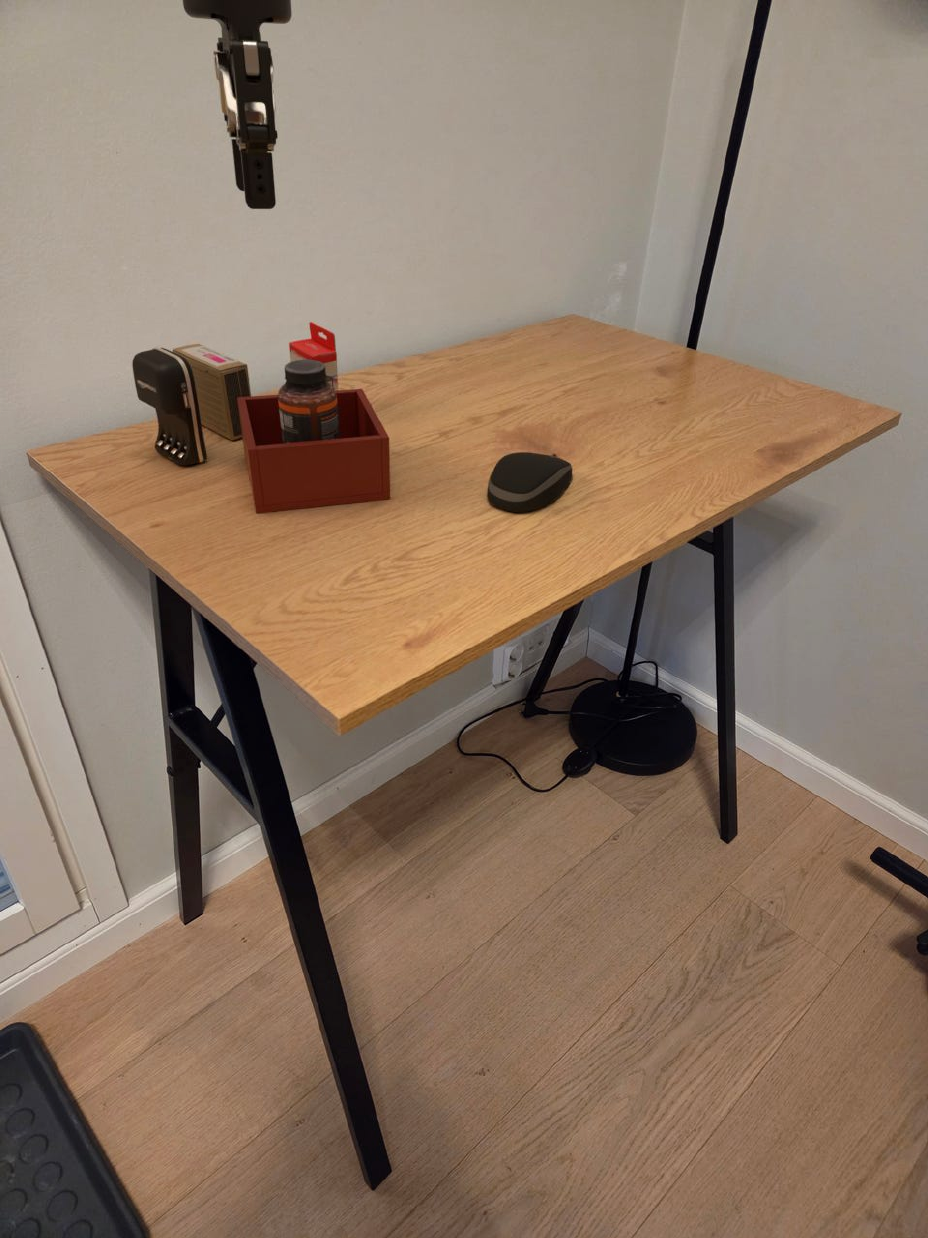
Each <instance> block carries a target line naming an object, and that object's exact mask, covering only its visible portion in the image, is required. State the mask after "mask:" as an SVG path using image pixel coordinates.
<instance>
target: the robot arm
mask: <svg viewBox="0 0 928 1238" xmlns="http://www.w3.org/2000/svg"><path fill="white" fill-rule="evenodd" d="M182 6H183V10H184V12H185V13H186V14H187V16H189V17H191V18H195V19H204V20H214V21H216V22H217V23H218V24H219V26H220V28H221V37H217V42H216V49H217V50H215V51H214V50H213V64H214V72H215V77H216V80H217V81H218V89H219V101H220V107H221V112H222V113H223V118H224V119H223V120H224V122H226V133H228V134H229V135H228V137H229V138H231V140H230V141H231V149H232V159H233V169H234V178H235V179H234V180H235V185H236V188H237V189H238V191H241V192H244V201H245V203H246V206H247V207H248V208H249V209H251V210H272V209H274V208H275V207H276V203H277V201H276V199H277V198H276V189H275V188H276V187H275V175H274V162H273V153H272V152H275V146H276V145H277V139H278V131H277V130H276V100H275V93H274V87H273V84H274V73H275V68H274V61H273V55H272V50H271V47H269V46H270V45H269V41H266V40H262V35H261V30H260V28H261V26H262V25H263V24H275V25H285V24H288V23H290V21H291V19H292V16H293V15H292V0H182Z"/></svg>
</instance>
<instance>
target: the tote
mask: <svg viewBox="0 0 928 1238" xmlns="http://www.w3.org/2000/svg"><path fill="white" fill-rule="evenodd" d="M336 394H337V404H338V417H339V432H340V439H331V440H320V441H308V442H296V443H285V444H283V438H282V429H281V420H280V411H279V402H278V394H268V395H255V396H254V395H253V396H252V395H251V397H237V402H238V409H239V416H240V424H241V431H242V437H241V438H242V446H243V453H244V459H245V463H246V469H247V474H248V479H249V483H250V489H251V494H252V499H253V503H254V509H255V513H256V514H263V513H270V512H271V513H272V512H281V511H291V510H298V509H299V510H300V509H307V508H308V509H309V508H318V507H326V506H327V507H328V506H337V505H344V504H345V505H346V504H354V503H355V504H356V503H364V502H372V501H373V502H374V501H383V500H390V499H391V467H390V465H391V464H390V463H391V461H390V458H391V457H390V436H389V434H388V433H387V431H386V430H385V428H384V426H383V424H382V422H381V420H380V418H379V417H378V415H377V413H376V411H375V409H374V408H373V406H372V404H371V402H370V400H369V399H368V397H367V395H366V393H365V391H364V389H363V388H352V389H338V390H337V391H336Z"/></svg>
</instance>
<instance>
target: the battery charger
mask: <svg viewBox="0 0 928 1238" xmlns="http://www.w3.org/2000/svg"><path fill="white" fill-rule="evenodd" d="M131 365H132V373H133V374H132V375H133V380H134V385H135V390H136V396H137V398H138V400H140V401H141V402H143V403H144V404H146V405H148V406H149V407H151V408H153V409H154V410H155V414H156V418H157V423H158V424H157V425H158V430H157V436H156V440H155V444H154V449H155V451H156V452H157V453H158V454H159V455H161V456H163V457H165V458H166V459H168V460H169V461H171V462H172V463H175V464H177V465H178V466H192V465H195V464H197V463H198V464H201V463H203V462H204V461H206V460H207V459H208V456H207V450H206V443H205V439H204V432H203V427H202V426H203V425H202V424H201V417H200V410H199V404H198V398H197V392H196V386H195V381H194V376H193V371H192V369H191V366H190V364H189V362H188V361H187V360H186V359H185V358H184V357H182V356H180V355H178V354H176V353H174V352H173V350H169V349H166V348H165V347H154V348H152V349H148V350H144V351H141V352H138V353H136V354H135V355H134V356H133V359H132V363H131Z"/></svg>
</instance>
